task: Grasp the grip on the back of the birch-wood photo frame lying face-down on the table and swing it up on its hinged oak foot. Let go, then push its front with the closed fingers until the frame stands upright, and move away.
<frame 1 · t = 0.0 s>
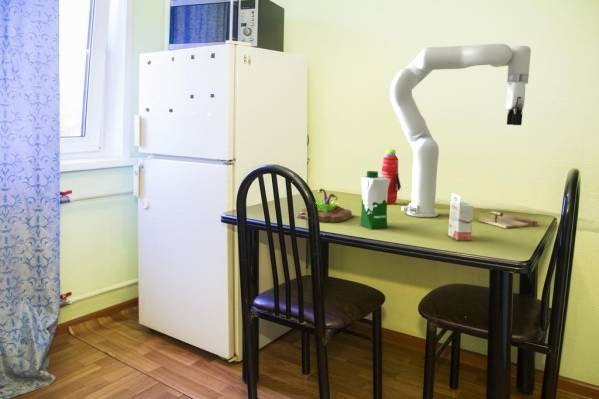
hand: (513, 124, 195), 37 cm above the table, tool pointing down, fingers open, 9 cm apart
ink cartridge box: (459, 238, 169), on the table
photo frame: (503, 216, 192), point 3 cm above the table, hinge at 0.0°
plant: (324, 217, 200), on the table
milk carton: (373, 227, 184), on the table
frame foot: (515, 222, 195), on the table
water bottle: (390, 204, 232), on the table
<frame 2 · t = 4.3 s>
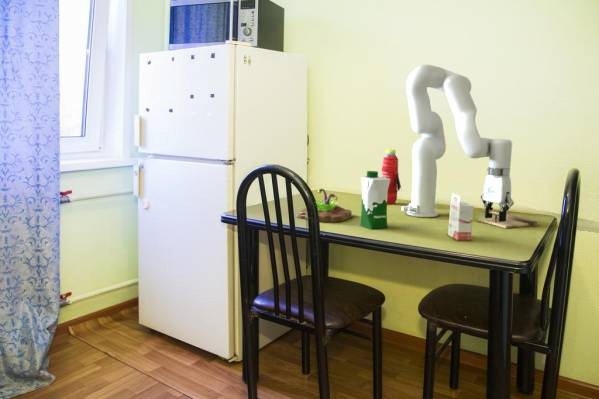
hand: (495, 219, 190), 2 cm above the table, tool pointing down, fingers closed on photo frame, 6 cm apart
photo frame: (503, 216, 192), point 3 cm above the table, hinge at 0.0°, touching gripper
everything else where it was.
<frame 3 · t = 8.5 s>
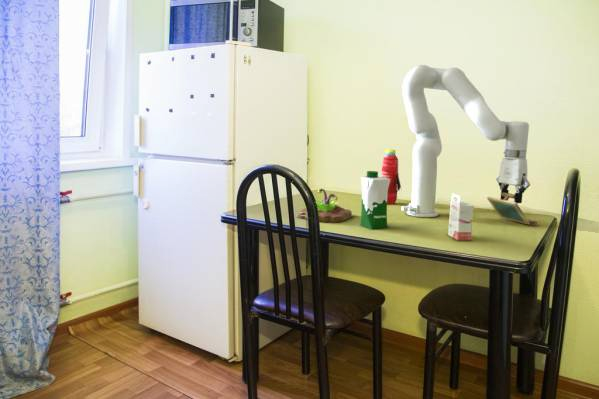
hand: (510, 201, 192), 9 cm above the table, tool pointing down, fingers closed on photo frame, 6 cm apart
photo frame: (511, 206, 193), point 6 cm above the table, hinge at 46.4°, touching gripper
everything else where it was.
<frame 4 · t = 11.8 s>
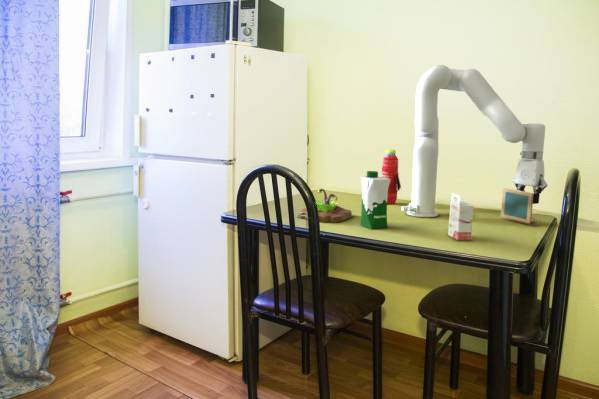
hand: (527, 201, 196), 8 cm above the table, tool pointing down, fingers closed on photo frame, 6 cm apart
photo frame: (520, 204, 194), point 7 cm above the table, hinge at 89.6°, touching gripper
everything else where it was.
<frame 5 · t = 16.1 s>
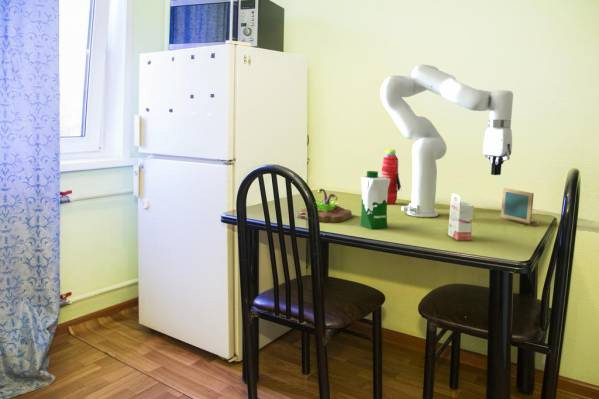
hand: (495, 174, 187), 19 cm above the table, tool pointing down, fingers closed
photo frame: (520, 204, 194), point 7 cm above the table, hinge at 90.1°
everything else where it was.
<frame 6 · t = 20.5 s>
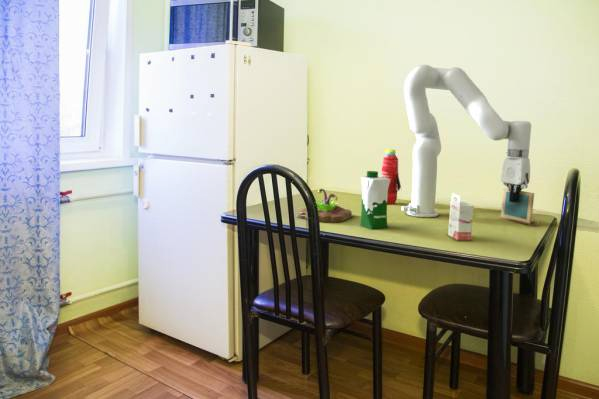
hand: (513, 201, 193), 8 cm above the table, tool pointing down, fingers closed
photo frame: (521, 205, 195), point 7 cm above the table, hinge at 91.4°, touching gripper
everything else where it was.
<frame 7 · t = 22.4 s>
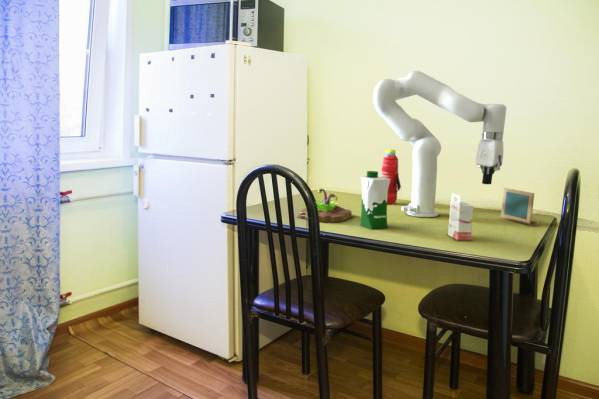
hand: (486, 183, 196), 14 cm above the table, tool pointing down, fingers closed
photo frame: (521, 205, 195), point 7 cm above the table, hinge at 91.7°
everything else where it was.
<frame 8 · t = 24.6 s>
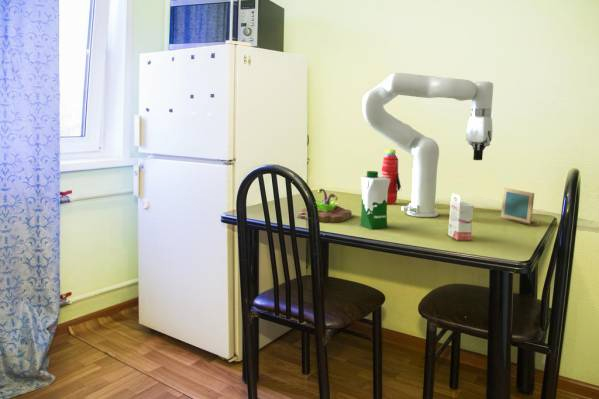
hand: (477, 159, 202), 23 cm above the table, tool pointing down, fingers closed
nothing on the table moved.
at the end: photo frame at +92° (first picture: +0°); the gripper is holding nothing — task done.
